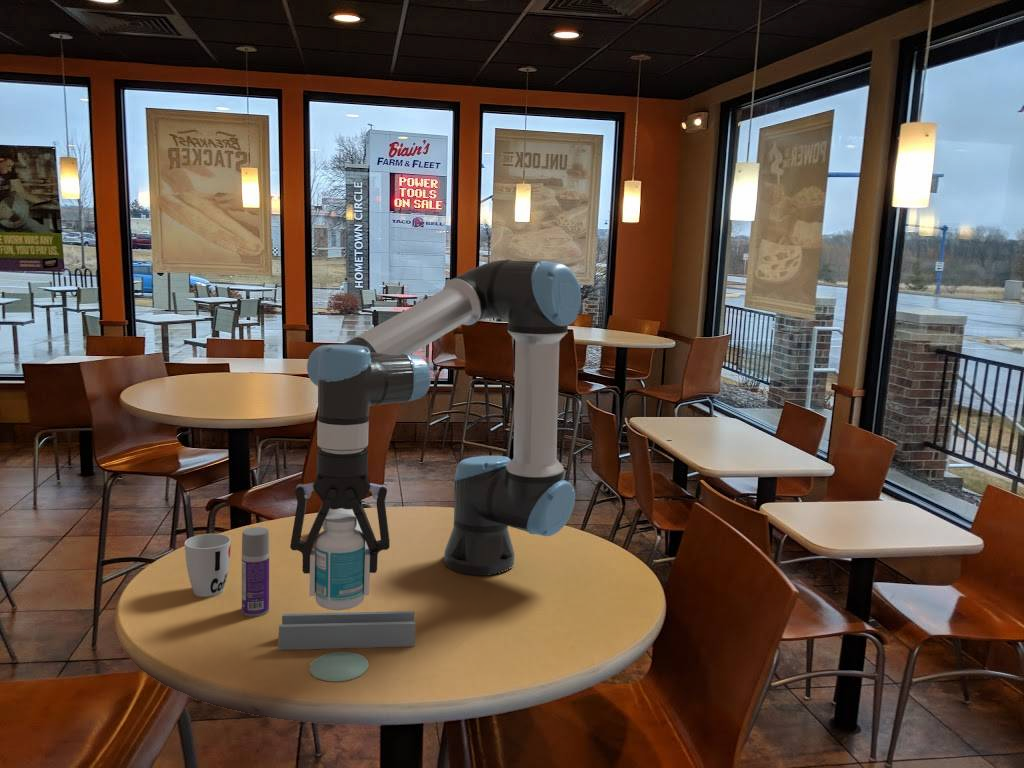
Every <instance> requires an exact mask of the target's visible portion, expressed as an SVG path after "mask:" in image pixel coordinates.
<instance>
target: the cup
mask: <svg viewBox="0 0 1024 768" xmlns="http://www.w3.org/2000/svg"><path fill="white" fill-rule="evenodd" d="M231 545H232V538H231V537H230V535H229V536H228V535H225V534H222V533H221V534H220V533H204V534H198V535H195V536H191V537H188V538H187V539H186V540H185V541H184V551H185V554H184V555H185V565H186V568H187V569H186V570H187V574H188V578H189V583H190V586H191V588H192V590H193V593H194V595H195V596H196V597H198V598H199V597H200V598H211V597H214V596H218V595H220V594H222V593H223V592H224V589H225V585H226V582H227V578H228V573H229V567H230V562H231V547H232V546H231Z"/></svg>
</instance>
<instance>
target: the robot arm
mask: <svg viewBox="0 0 1024 768" xmlns="http://www.w3.org/2000/svg"><path fill="white" fill-rule="evenodd" d="M581 307H582V292H581V286H580V284H579V281H578V278H577V277H576V275H575V274H574V272H573V270H572V269H570V267H568V266H566V265H565V264H563V263H557V262H552V261H546V260H541V261H539V260H538V261H537V260H535V261H534V260H509V259H505V260H504V259H499V260H494V261H491V262H490V261H489V262H487V263H484V264H482V265H479V266H477V267H474V268H472V269H469V270H466V271H465V272H463V273H461V274H459V275H457V276H456V277H454V278H451V279H450V280H448V281H447V282H446V283H445V284H444V287H443V289H442V290H440V291H439V292H436V293H435V294H433V295H431V296H430V297H428V298H426V299H424V300H422V301H420V302H418V303H417V304H415V305H412V306H411V307H409V308H407V309H405V310H404V311H402V312H400V313H398V314H396V315H394V316H392V317H390V318H389V319H387V320H385V321H383V322H381V323H379V324H378V325H376V326H374V327H372V328H370V329H368V330H366V331H365V332H362V333H361V334H359V335H357V336H355V337H353V338H352V339H350V340H348V341H345V342H344V343H342V344H323V345H320V346H317V347H316V348H315V349H314V350H312V352H311V353H310V354H309V356H308V359H307V364H306V370H307V376H308V378H309V379H310V381H311V382H312V383H313V384H314V386H317V421H316V423H317V424H316V425H317V427H316V429H317V430H316V431H317V435H316V436H317V438H316V439H317V440H316V442H317V447H319V449H318V450H317V451H316V478H315V479H314V482H311V483H302V482H300V483H298V484H297V485H296V487H295V490H294V493H295V497H296V503H297V504H296V509H295V515H294V522H293V528H292V533H291V539H290V545H289V546H290V547H289V548H290V550H292V551H298V552H300V553H301V555H302V568H301V569H302V573H303V574H309V597H316V548H313V547H314V545H315V544H316V539H317V536H318V535H319V534H320V532H321V529H322V528H323V527H322V525H323V522H324V520H325V518H326V516H327V514H328V512H329V509H330V508H331V509H340V508H343V509H352V510H353V512H354V515H355V516H356V518H357V521H358V523H359V526H360V528H361V531H362V533H363V536H364V538H365V541H366V543H367V546H368V548H369V549H365V571H364V596H369V595H370V575H371V574H374V573H377V571H378V555H379V553H380V552H382V551H386V550H389V549H390V531H389V525H388V516H387V509H386V507H387V506H386V498H387V493H388V485H387V484H385V483H381V484H376V483H371V481H370V479H369V477H368V473H369V472H368V471H369V469H368V465H369V463H368V462H369V461H368V460H369V451H368V450H367V446H368V445H369V429H370V428H369V427H370V426H369V425H370V424H369V422H370V407H373V406H379V405H380V406H381V405H388V404H389V405H390V404H396V403H397V404H398V403H408V402H412V401H415V400H419V399H422V398H423V397H424V396H426V394H427V393H428V391H429V389H430V388H431V387H430V386H431V379H432V378H431V377H432V376H431V369H430V367H429V365H428V363H427V362H426V360H425V359H424V358H422V357H421V356H420V355H418V354H414V353H416V352H418V351H419V350H422V349H423V348H424V347H426V346H429V344H431V343H433V342H435V341H437V340H438V339H440V338H441V337H443V336H444V335H446V334H448V333H450V332H452V331H453V330H455V329H456V328H459V327H460V326H462V325H464V326H471V325H474V324H475V323H477V322H479V321H482V320H488V319H489V320H490V319H501V320H507V332H508V334H509V335H510V336H511V337H512V339H514V342H515V344H514V345H515V348H514V401H513V402H514V404H513V405H514V407H513V408H514V409H513V410H514V413H513V415H514V416H513V458H512V459H511V458H509V457H508V456H504V455H481V456H480V455H479V456H472V457H467V458H464V459H462V460H461V461H459V462H458V463H457V465H456V468H455V478H454V497H453V498H454V500H453V501H454V502H453V503H454V505H453V509H454V510H453V527H452V530H451V533H450V536H449V538H448V540H447V543H446V546H445V548H444V553H443V554H444V556H443V559H444V560H443V563H444V565H445V566H446V567H447V568H449V569H451V570H452V571H454V572H456V573H461V574H466V575H471V576H489V575H488V574H494V575H496V574H495V573H499V572H502V571H505V570H507V569H509V568H510V567H512V566H513V564H514V565H515V555H516V554H515V551H514V547H513V543H512V539H511V536H510V533H509V527H510V528H514V529H516V530H520V531H524V532H527V533H529V534H531V535H539V536H541V537H552V536H554V535H556V534H557V533H559V532H560V531H561V530H562V529H563V528H564V527H565V525H566V524H567V522H568V521H569V520H570V518H571V515H572V513H573V511H574V508H575V507H574V506H575V502H576V492H575V491H576V490H575V488H574V487H573V485H572V484H571V482H569V481H568V480H565V479H564V473H565V471H564V470H565V469H564V465H562V463H561V462H560V461H559V460H558V458H557V456H558V455H557V453H558V452H557V450H558V449H557V446H558V445H557V444H558V415H559V413H558V412H559V411H558V410H559V408H558V407H559V406H558V405H559V378H560V377H559V375H560V374H559V372H560V371H559V368H560V362H559V361H560V342H561V340H562V339H563V338H564V337H565V336H566V335H567V334H568V330H569V329H568V327H569V325H572V324H573V323H574V322H575V321H576V320H577V318H578V313H580V310H581ZM313 491H314V492H315V493H316V495H317V496H318V497H319V499H320V500H321V502H322V503H321V505H320V508H319V509H318V512H317V514H316V517H315V519H314V522H313V524H312V526H311V529H310V530H309V533H308V534H307V537H306V539H305V540H301V538H302V532H303V527H304V522H305V514H306V507H307V503H308V499H310V498H311V496H312V492H313ZM368 492H371V495H372V498H373V499H374V500H376V510H377V511H376V513H377V518H378V519H377V520H378V527H379V535H380V539H379V540H377V539H376V536H375V533H374V531H373V528H372V526H371V524H370V521H369V518H368V516H367V514H366V511H365V508H364V505H363V503H362V500H363V498H365V496H366V495H367V494H368ZM513 567H514V566H513ZM513 567H512V568H513ZM370 573H371V574H370ZM499 574H500V573H499Z"/></svg>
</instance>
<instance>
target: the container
mask: <svg viewBox="0 0 1024 768" xmlns="http://www.w3.org/2000/svg"><path fill="white" fill-rule="evenodd" d="M269 530H270V529H268V528H266V527H262V526H254V527H253V526H252V527H248V528H245V529H243V530H242V535H241V614H242V615H243V616H246V617H250V618H251V617H252V618H253V617H255V618H256V617H261V616H264V615H266V614H267V613H268V612H270V540H269V539H270V536H269V535H270V534H269Z"/></svg>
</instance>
